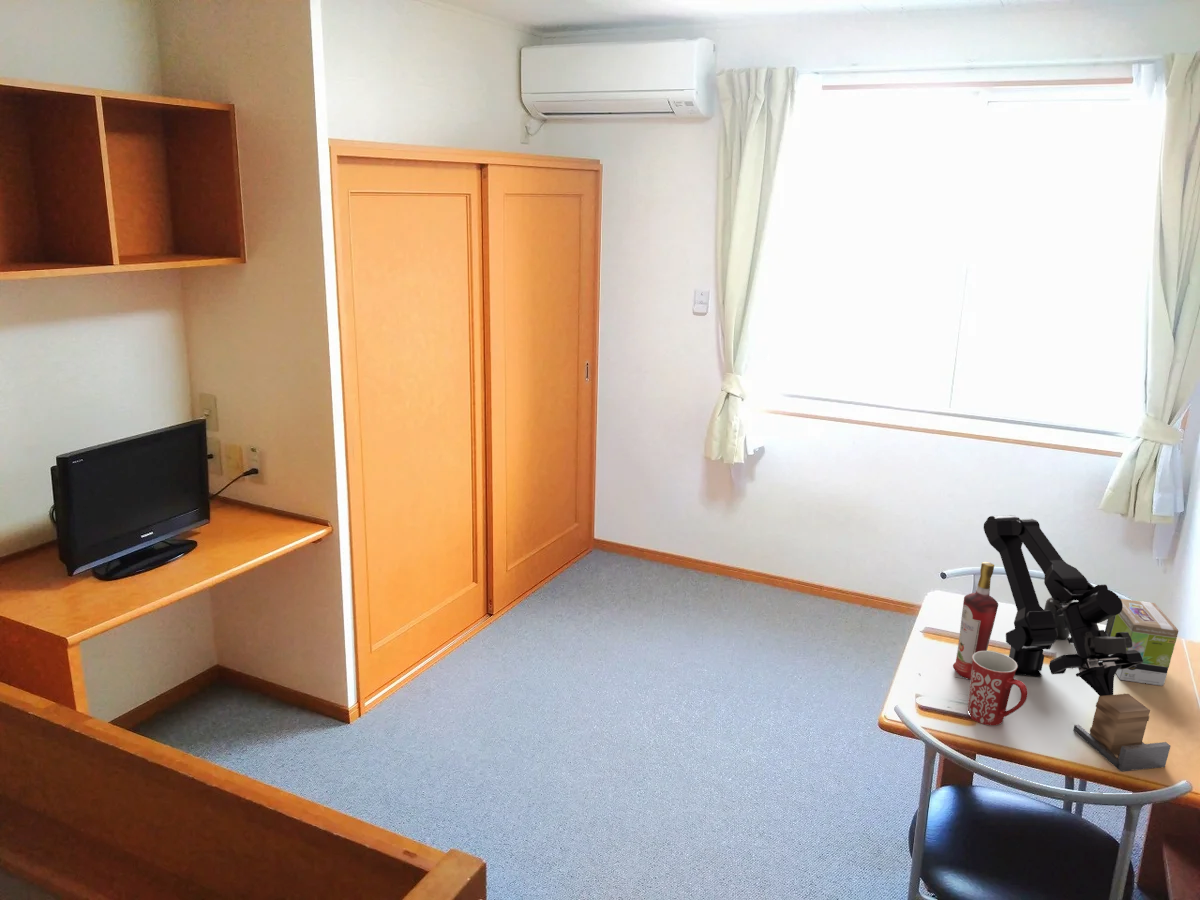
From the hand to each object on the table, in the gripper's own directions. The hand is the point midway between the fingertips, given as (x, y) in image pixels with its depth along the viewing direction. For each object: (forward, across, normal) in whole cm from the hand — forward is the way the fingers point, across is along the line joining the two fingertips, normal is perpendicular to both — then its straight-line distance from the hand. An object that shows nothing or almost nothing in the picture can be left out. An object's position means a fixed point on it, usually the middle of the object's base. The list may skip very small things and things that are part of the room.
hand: (1110, 703), depth 189 cm
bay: (+9, 0, +2) cm, 9 cm away
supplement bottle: (-24, +20, +35) cm, 46 cm away
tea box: (-11, +28, +23) cm, 37 cm away
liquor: (-13, -15, +24) cm, 31 cm away
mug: (0, -21, +11) cm, 24 cm away
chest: (+8, 0, +3) cm, 9 cm away
